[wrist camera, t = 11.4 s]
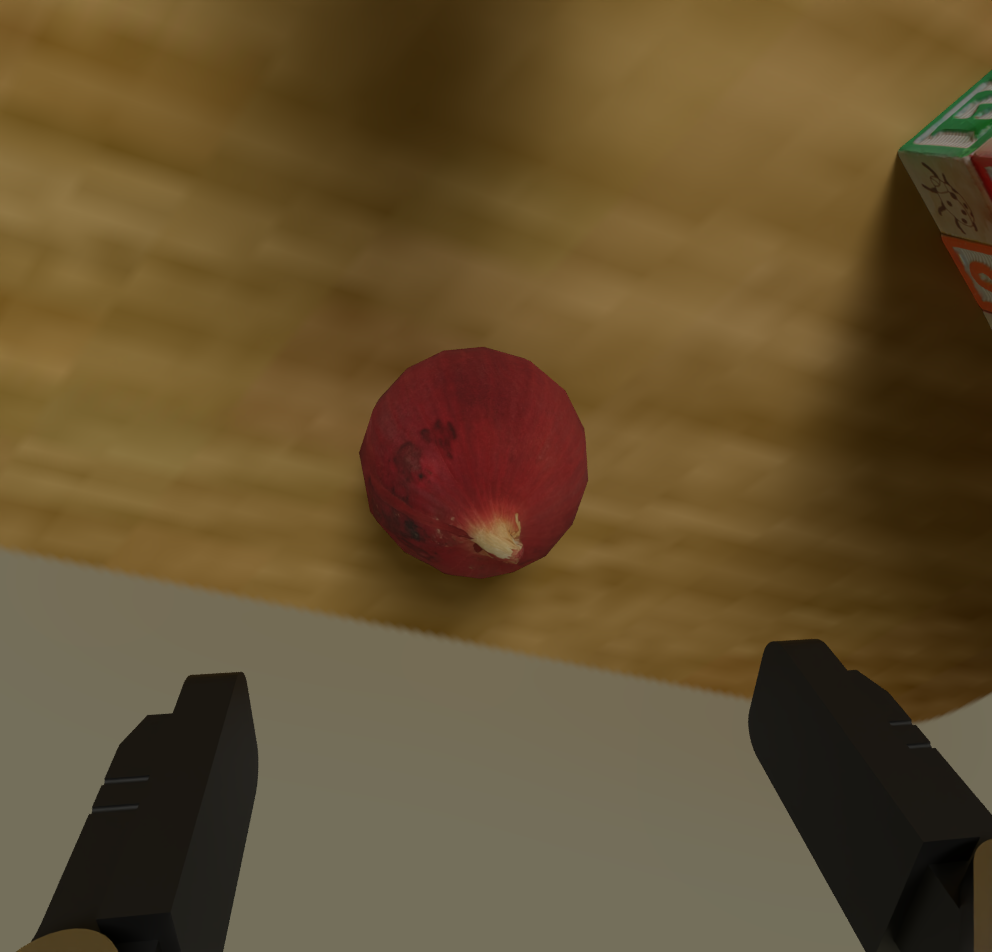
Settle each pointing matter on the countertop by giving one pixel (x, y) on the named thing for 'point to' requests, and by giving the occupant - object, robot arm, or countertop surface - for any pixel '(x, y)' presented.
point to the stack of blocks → (960, 184)
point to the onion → (475, 462)
